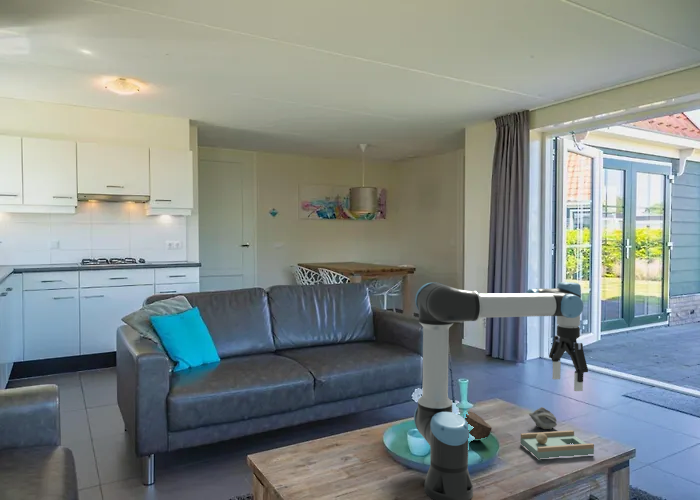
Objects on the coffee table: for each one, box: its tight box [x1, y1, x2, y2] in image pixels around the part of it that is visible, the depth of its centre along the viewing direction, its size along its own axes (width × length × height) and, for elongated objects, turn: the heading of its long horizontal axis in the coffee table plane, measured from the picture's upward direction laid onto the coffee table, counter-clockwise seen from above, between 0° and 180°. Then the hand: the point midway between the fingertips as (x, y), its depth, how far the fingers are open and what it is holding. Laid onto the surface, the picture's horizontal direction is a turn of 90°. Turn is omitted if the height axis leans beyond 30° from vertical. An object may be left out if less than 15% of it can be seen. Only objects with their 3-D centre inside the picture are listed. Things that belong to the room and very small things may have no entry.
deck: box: [520, 430, 595, 459], centre depth 187 cm, size 22×13×4 cm, turn 99°
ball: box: [536, 432, 548, 444], centre depth 186 cm, size 4×4×4 cm
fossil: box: [528, 406, 558, 430], centre depth 209 cm, size 11×9×8 cm
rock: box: [465, 411, 493, 439], centre depth 195 cm, size 12×10×10 cm
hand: (566, 384), depth 177 cm, fingers open, 13 cm apart
